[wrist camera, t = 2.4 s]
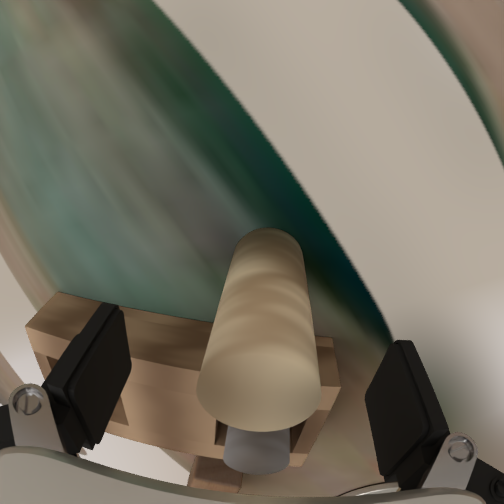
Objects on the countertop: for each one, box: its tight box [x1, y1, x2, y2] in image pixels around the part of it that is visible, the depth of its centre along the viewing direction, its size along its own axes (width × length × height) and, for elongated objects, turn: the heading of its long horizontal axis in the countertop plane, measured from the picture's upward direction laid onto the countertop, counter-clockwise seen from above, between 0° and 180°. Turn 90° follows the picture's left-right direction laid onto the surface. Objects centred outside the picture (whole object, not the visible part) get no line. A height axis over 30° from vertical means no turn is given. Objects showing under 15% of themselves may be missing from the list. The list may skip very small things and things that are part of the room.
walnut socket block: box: [25, 292, 341, 475], centre depth 20 cm, size 20×10×7 cm, turn 83°
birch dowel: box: [196, 228, 321, 432], centre depth 14 cm, size 4×4×10 cm
